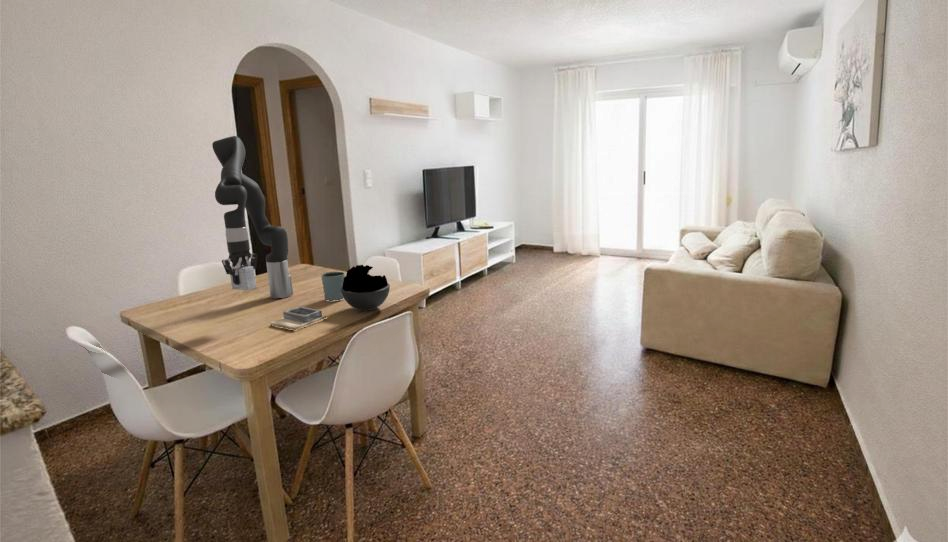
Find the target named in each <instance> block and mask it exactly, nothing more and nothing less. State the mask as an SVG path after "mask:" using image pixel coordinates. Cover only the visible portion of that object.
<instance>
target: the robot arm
mask: <svg viewBox="0 0 948 542" xmlns="http://www.w3.org/2000/svg"><path fill="white" fill-rule="evenodd" d="M211 145H212V150H213V153H214V154H215V156H216V159H217V160H218V161H219V164H221V167H222V168H221V172H220V182H219V183H218V184H217V186H216V188H215V190H214V198H215V201H216V202H217V203H218V204H219V205H222V206H234V205H237V208H236V209H233V210H230V211H226V212H225V213H224V214H223V220H224V227H225V239H226V246H227V253H228V254H229V255H228V258H226V259H222V260H221V263H222V266H223V268H224V270H225V274H226V275H229V276H230V275H232V278H233V283H234V284H235V285H239V284H240V282H239V275H238V270H239V269H240V266H253V268H254V270H257V266H258V257H259V255H258V254H257V253H254V252H253V253H251V251H250V250H251V247H250V240H249V233H248V229H247V223H246V214H245V213H246V212H247V214H248V216H249V218H250V221H251V222H252V224H253V226H254V229H255V231H256V234H257V236H258V239H259V241H260V242H261V243H262V245H265V246H268V247H271V252H270V253H268V254H266V256H265V262H266V271H267V272H266V273H267V281H268V286H269V296H270V299H273V298H276V299H275V300H278V299H277V298H282V299H286V297H287V298H289V296H290V297H291V296H293V295H294V291H293V281H292V275H291V274H290V270H289V262H288V261H289V260H288V255H289V241H288V240H289V239H288V234H287V231H286V229H285V228H284V227H282V226H280V225H279V226H278V225H271V223H270V222H269V220H268V218H267V215H266V197H265V196H264V193H263V191H262V189H261V187H260V185H259V184H258V183H257V182H256V181H255V180H253V179H252V178H250V177H248V176H247V175H246V174H244V173H243V172H242V169H243V165H244V162H245V158H246V154H247V153H246V152H247V151H246V148H245V145H244V142H243V141H242V139H241V138H240V137H239V136H237V135H231V136H229V137H224V138H222V139H218V140H214V141H213V142H212V143H211ZM245 210H246V211H245ZM235 266H236V267H235ZM292 294H293V295H292Z"/></svg>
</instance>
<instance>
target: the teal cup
mask: <svg viewBox="0 0 948 542" xmlns="http://www.w3.org/2000/svg"><path fill="white" fill-rule="evenodd" d="M344 277H346V275H345V272H343V271H329V272H324V273H322V274H321V282H322V285H323V287H322V289H323V294H324V301H325V300H329V301H333V300H340V299H343V298H344V297H343V295H342V292H341V288H342V286H343V281H344Z"/></svg>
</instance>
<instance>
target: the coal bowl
mask: <svg viewBox="0 0 948 542" xmlns="http://www.w3.org/2000/svg"><path fill="white" fill-rule="evenodd" d="M373 268H374V267H373V266H370V265H368V264H366V265H364V264H358V265H356V266H354V265H353V266H352V267H350V268H349V269H348V270H347V271H346V275H345V277H344V281H343V286H342V288H341V292H342V295H343V297H344V301H345V302H346V303H347V304H348V305H349V306H351V307H352V308H354V309H355V310H360V311H371V310H370V309H372V310H374V308H375V309H376V308H379V307H380V306H381V305H383V303H384V302H386V300H387V298H388V296H389V293H390V287H391V286H390V284H389V283H388V280H387V277H386V275H371V274H369V272H370V271H371V270H372V269H373Z"/></svg>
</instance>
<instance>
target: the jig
mask: <svg viewBox="0 0 948 542" xmlns="http://www.w3.org/2000/svg"><path fill="white" fill-rule="evenodd" d="M282 314H283V315H282V316H283V317H281V318H279V319H275V320H273V321H270V323H269V325H273V326H278V327H283V328H288V329H293V330H296V329H299V328H301V327H304V326H306V325H309V324H311V323H314V322H316V321H319V320H321V319H324V318H326V317H327V318H328V315H326V314H323V312H322V310H320V309H315V308H309V307H306V306H305V307H304V306H297V307H294V308H291V309H289V310H286V311H283V313H282ZM273 326H272V327H273Z"/></svg>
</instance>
